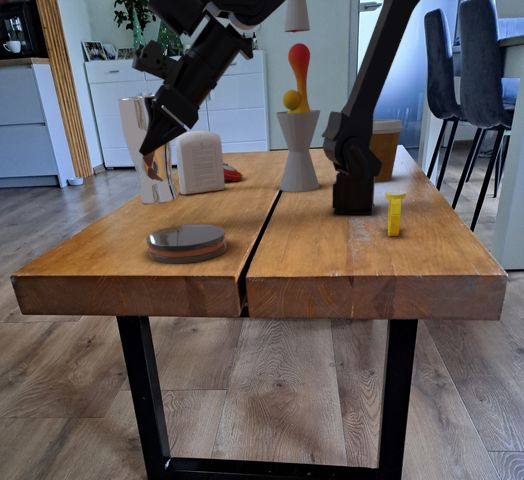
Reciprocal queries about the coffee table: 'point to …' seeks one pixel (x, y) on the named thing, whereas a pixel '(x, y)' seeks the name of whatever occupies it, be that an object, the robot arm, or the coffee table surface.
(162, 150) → the beer glass
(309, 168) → the lava lamp
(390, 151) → the disposable coffee cup
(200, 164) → the photo printer
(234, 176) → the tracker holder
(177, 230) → the coaster stack
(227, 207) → the coffee table surface
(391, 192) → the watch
